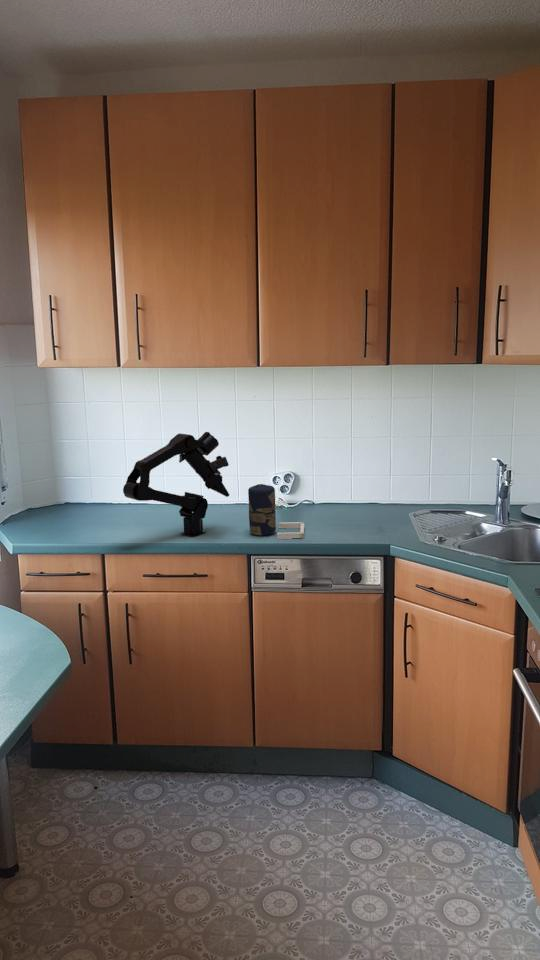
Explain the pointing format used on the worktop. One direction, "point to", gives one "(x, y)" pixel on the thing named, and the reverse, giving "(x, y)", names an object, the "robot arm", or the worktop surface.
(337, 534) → the worktop surface
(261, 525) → the canister
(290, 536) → the block
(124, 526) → the worktop surface
